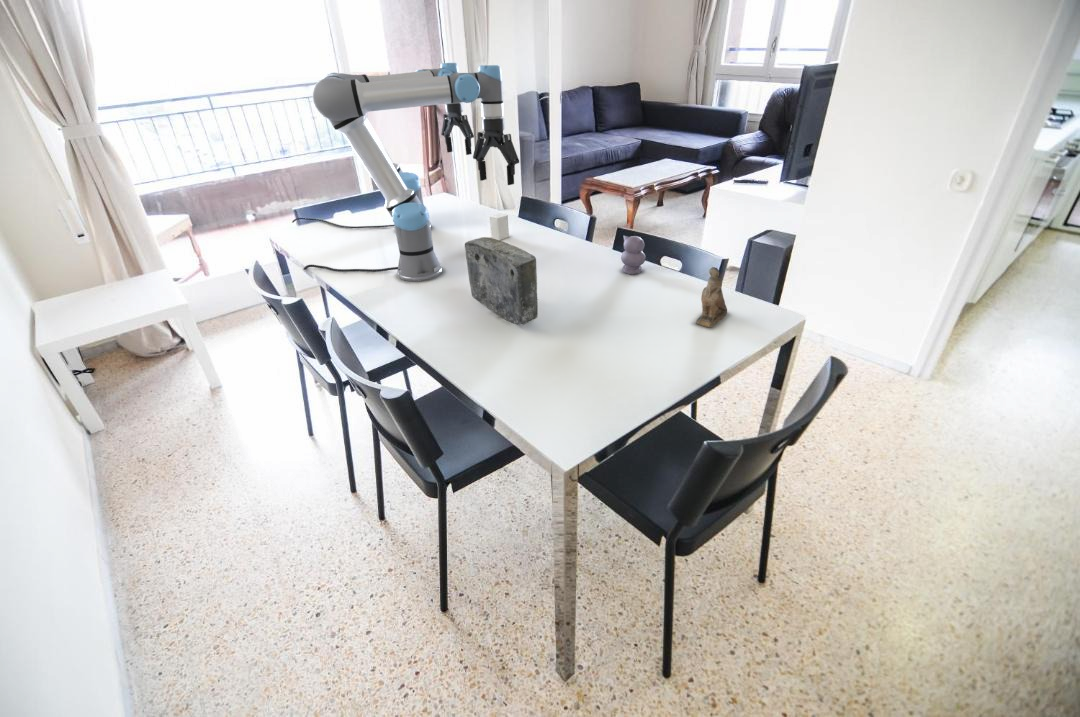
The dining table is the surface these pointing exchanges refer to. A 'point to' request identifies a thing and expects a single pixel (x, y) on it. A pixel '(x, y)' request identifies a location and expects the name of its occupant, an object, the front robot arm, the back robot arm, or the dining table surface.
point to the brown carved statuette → (712, 301)
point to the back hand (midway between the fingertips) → (459, 153)
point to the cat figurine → (633, 254)
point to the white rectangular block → (499, 226)
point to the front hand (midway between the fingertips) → (496, 182)
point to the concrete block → (503, 279)
